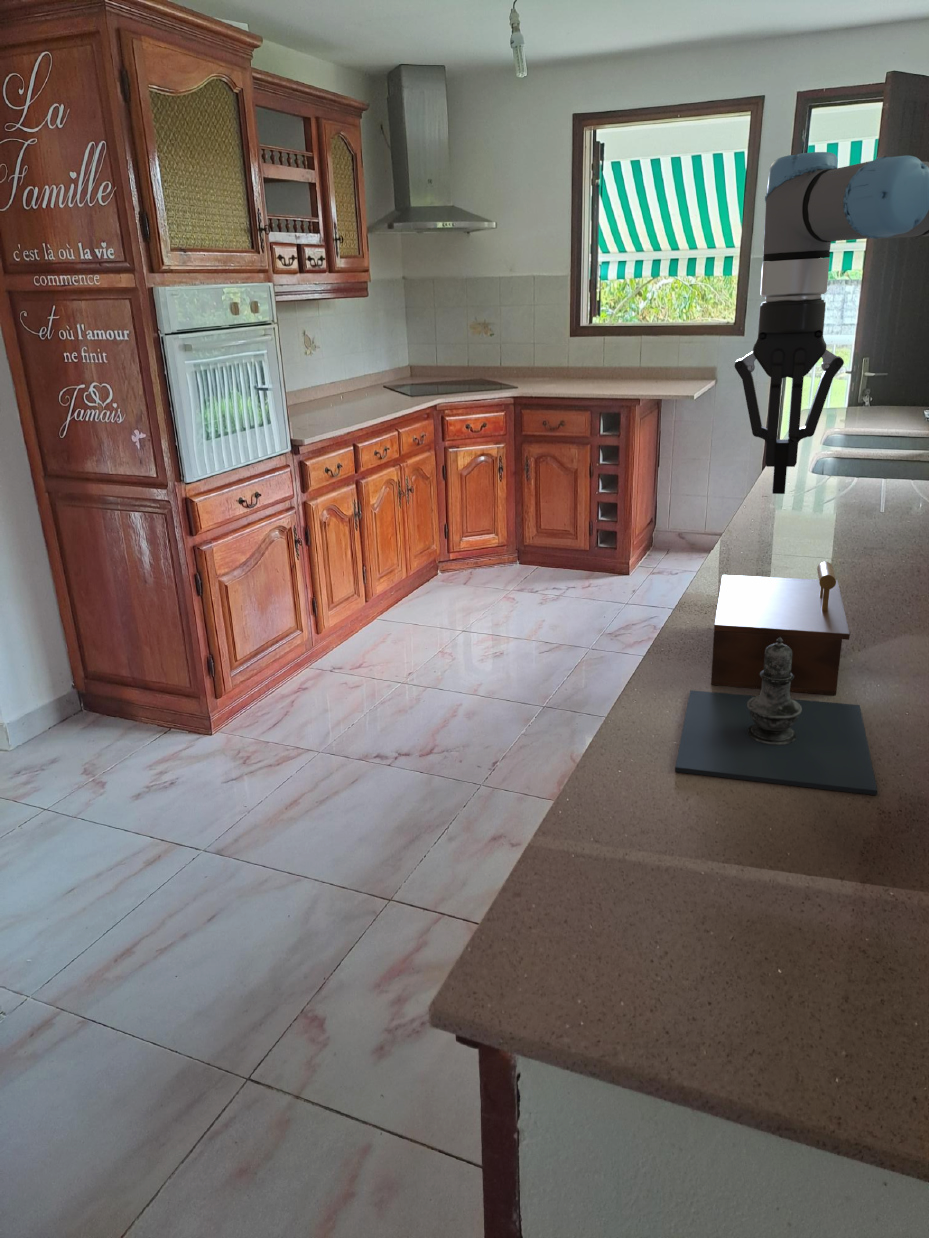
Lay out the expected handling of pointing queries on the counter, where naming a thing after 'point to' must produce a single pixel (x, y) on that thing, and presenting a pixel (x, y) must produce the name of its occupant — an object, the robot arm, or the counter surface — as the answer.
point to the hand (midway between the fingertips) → (778, 491)
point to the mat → (815, 759)
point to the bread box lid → (783, 605)
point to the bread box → (745, 655)
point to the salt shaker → (774, 699)
